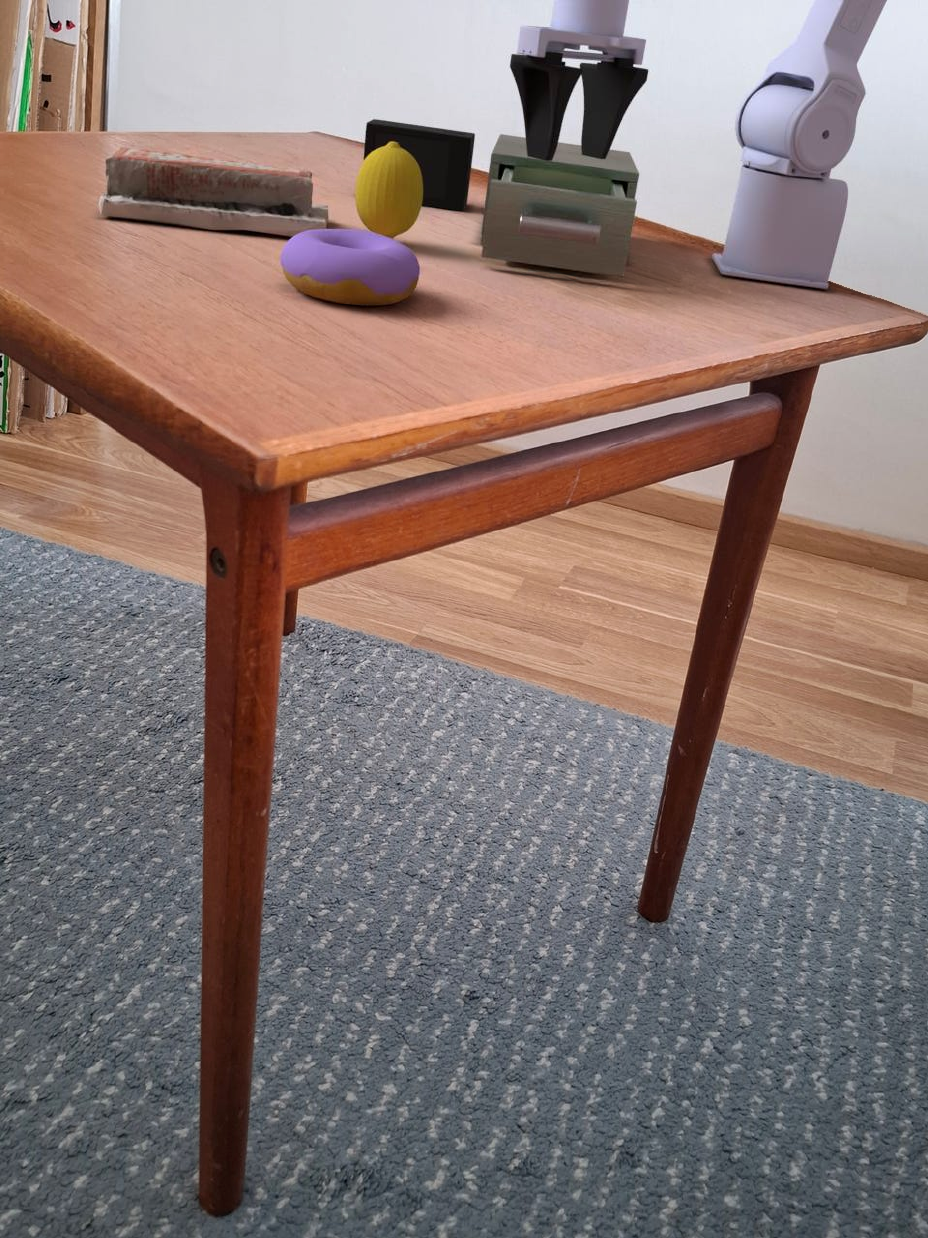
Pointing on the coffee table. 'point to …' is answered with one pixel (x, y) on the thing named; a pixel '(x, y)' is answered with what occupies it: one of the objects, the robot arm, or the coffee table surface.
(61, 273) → the coffee table surface
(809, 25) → the robot arm
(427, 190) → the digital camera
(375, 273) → the donut
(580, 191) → the drawer
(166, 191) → the weathered stone block
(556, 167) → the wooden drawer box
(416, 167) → the lemon
